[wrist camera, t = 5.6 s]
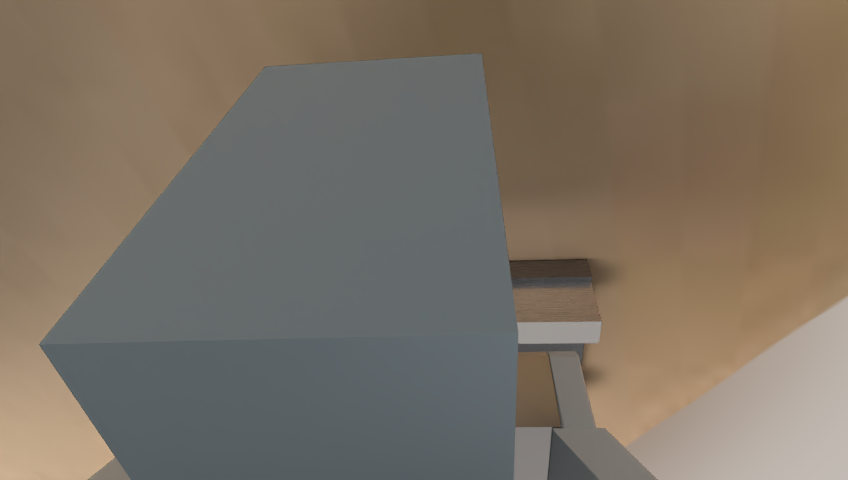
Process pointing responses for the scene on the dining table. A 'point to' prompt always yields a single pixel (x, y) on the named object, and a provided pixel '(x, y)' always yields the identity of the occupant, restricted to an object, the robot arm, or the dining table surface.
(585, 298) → the door track
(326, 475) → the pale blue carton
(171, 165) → the dining table surface
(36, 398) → the dining table surface
